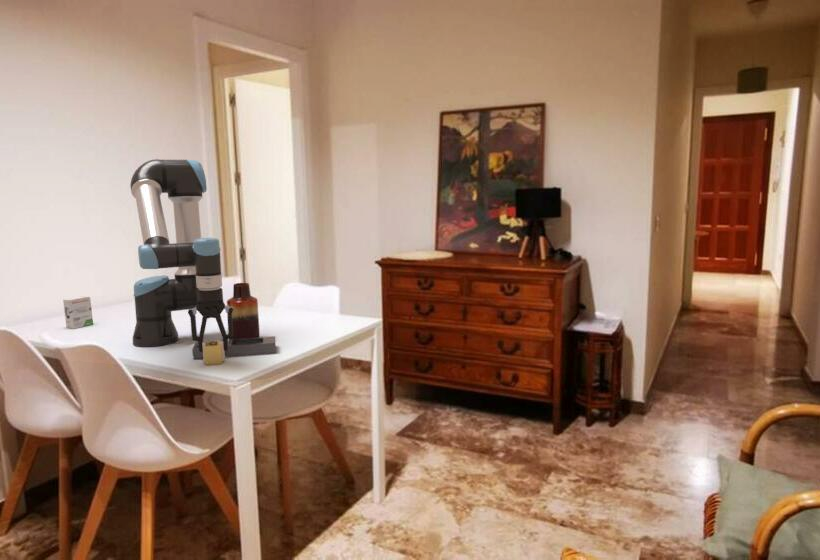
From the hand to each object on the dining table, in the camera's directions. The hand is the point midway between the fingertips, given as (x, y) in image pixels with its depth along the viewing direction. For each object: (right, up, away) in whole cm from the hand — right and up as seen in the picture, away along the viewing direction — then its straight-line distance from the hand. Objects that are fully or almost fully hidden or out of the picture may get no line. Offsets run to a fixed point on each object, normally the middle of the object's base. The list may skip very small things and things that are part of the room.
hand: (214, 360), depth 181 cm
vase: (+1, +4, +29) cm, 29 cm away
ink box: (-72, +7, +52) cm, 89 cm away
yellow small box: (0, 0, 0) cm, 0 cm away
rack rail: (+4, +1, +11) cm, 12 cm away
